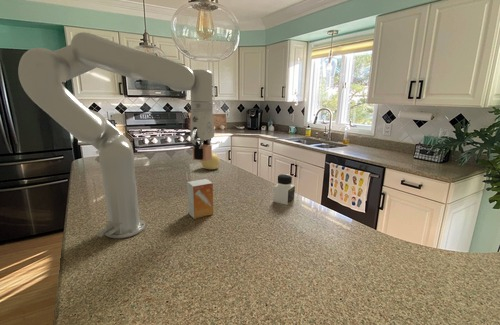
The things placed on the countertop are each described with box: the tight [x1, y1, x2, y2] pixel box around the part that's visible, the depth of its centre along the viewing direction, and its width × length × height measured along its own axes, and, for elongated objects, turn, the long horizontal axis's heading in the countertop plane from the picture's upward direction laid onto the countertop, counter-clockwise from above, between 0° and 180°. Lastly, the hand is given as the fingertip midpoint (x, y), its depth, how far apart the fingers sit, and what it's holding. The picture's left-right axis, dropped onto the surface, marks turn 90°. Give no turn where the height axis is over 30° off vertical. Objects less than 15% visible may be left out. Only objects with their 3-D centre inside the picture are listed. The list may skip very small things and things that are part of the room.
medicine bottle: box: [272, 173, 296, 206], centre depth 114 cm, size 7×7×12 cm
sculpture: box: [199, 151, 221, 170], centre depth 165 cm, size 12×12×11 cm
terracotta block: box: [192, 143, 213, 161], centre depth 95 cm, size 5×5×5 cm
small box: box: [186, 178, 214, 220], centre depth 100 cm, size 8×6×13 cm
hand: (202, 157), depth 95 cm, fingers closed on terracotta block, 5 cm apart
